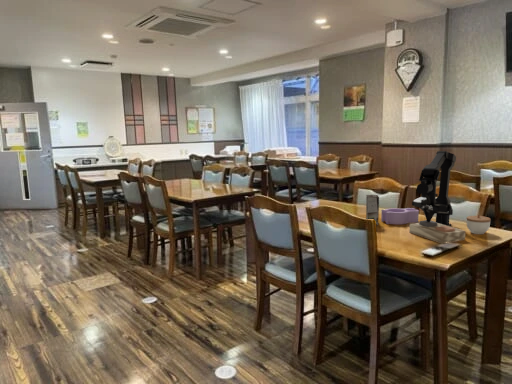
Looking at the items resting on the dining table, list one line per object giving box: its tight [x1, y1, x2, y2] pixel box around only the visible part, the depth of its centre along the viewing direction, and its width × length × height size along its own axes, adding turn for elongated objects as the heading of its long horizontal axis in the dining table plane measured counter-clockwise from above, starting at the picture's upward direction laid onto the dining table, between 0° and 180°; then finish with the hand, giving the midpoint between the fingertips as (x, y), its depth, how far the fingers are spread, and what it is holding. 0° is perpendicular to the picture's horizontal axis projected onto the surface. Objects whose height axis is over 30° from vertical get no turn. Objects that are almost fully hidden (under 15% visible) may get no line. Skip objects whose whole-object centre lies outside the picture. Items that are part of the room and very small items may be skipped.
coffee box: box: [365, 194, 380, 226], centre depth 223 cm, size 9×6×16 cm
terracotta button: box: [436, 225, 456, 232], centre depth 189 cm, size 6×6×4 cm
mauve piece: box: [380, 207, 420, 225], centre depth 225 cm, size 20×12×7 cm, turn 96°
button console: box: [408, 222, 466, 244], centre depth 194 cm, size 14×22×4 cm, turn 19°
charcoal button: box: [418, 219, 437, 227], centre depth 199 cm, size 6×6×4 cm
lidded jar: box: [465, 214, 492, 235], centre depth 197 cm, size 11×11×9 cm
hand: (428, 221), depth 198 cm, fingers closed, pressing on charcoal button
